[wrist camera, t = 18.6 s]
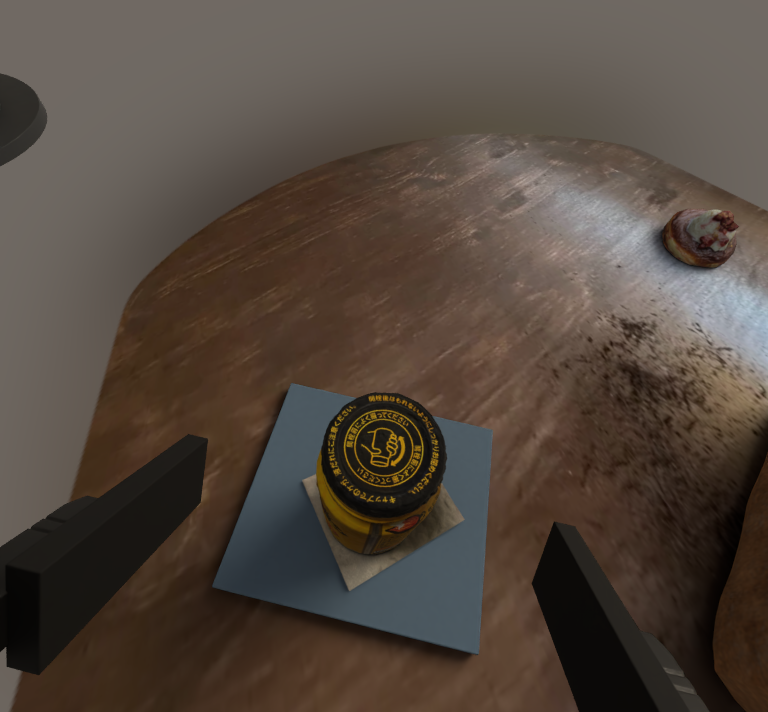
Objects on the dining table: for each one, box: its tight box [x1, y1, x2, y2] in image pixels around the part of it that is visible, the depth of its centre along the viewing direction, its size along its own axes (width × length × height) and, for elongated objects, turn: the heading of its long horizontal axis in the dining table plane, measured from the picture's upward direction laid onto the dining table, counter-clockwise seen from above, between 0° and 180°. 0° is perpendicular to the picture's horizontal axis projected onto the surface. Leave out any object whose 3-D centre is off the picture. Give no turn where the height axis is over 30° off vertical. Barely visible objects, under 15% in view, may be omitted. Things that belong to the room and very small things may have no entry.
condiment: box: [302, 392, 465, 591], centre depth 21 cm, size 7×8×12 cm
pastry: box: [662, 209, 739, 268], centre depth 43 cm, size 8×8×5 cm
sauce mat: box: [212, 383, 493, 655], centre depth 26 cm, size 16×14×1 cm
